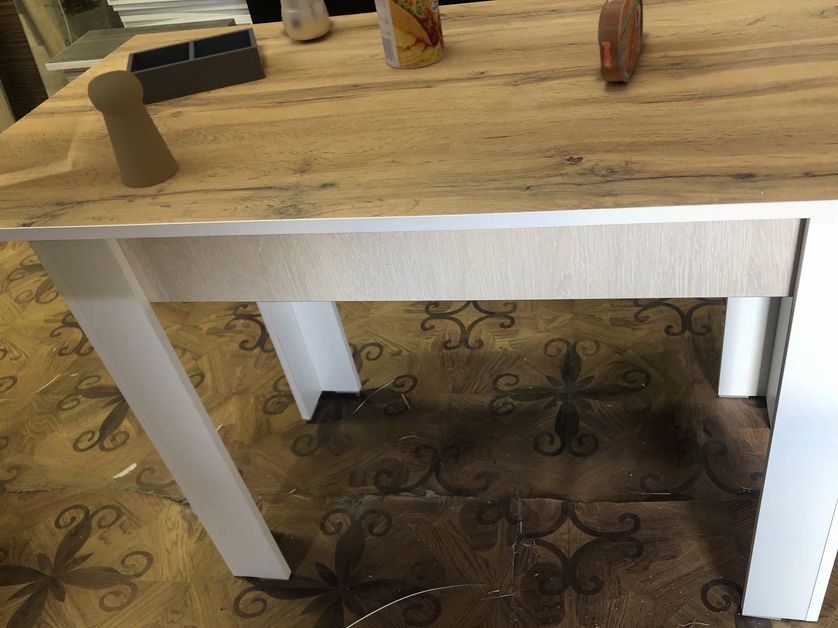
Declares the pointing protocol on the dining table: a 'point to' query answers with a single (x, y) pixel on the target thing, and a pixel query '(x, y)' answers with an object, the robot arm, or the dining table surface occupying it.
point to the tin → (620, 38)
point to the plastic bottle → (305, 18)
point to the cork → (131, 129)
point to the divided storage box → (197, 65)
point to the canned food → (410, 32)
